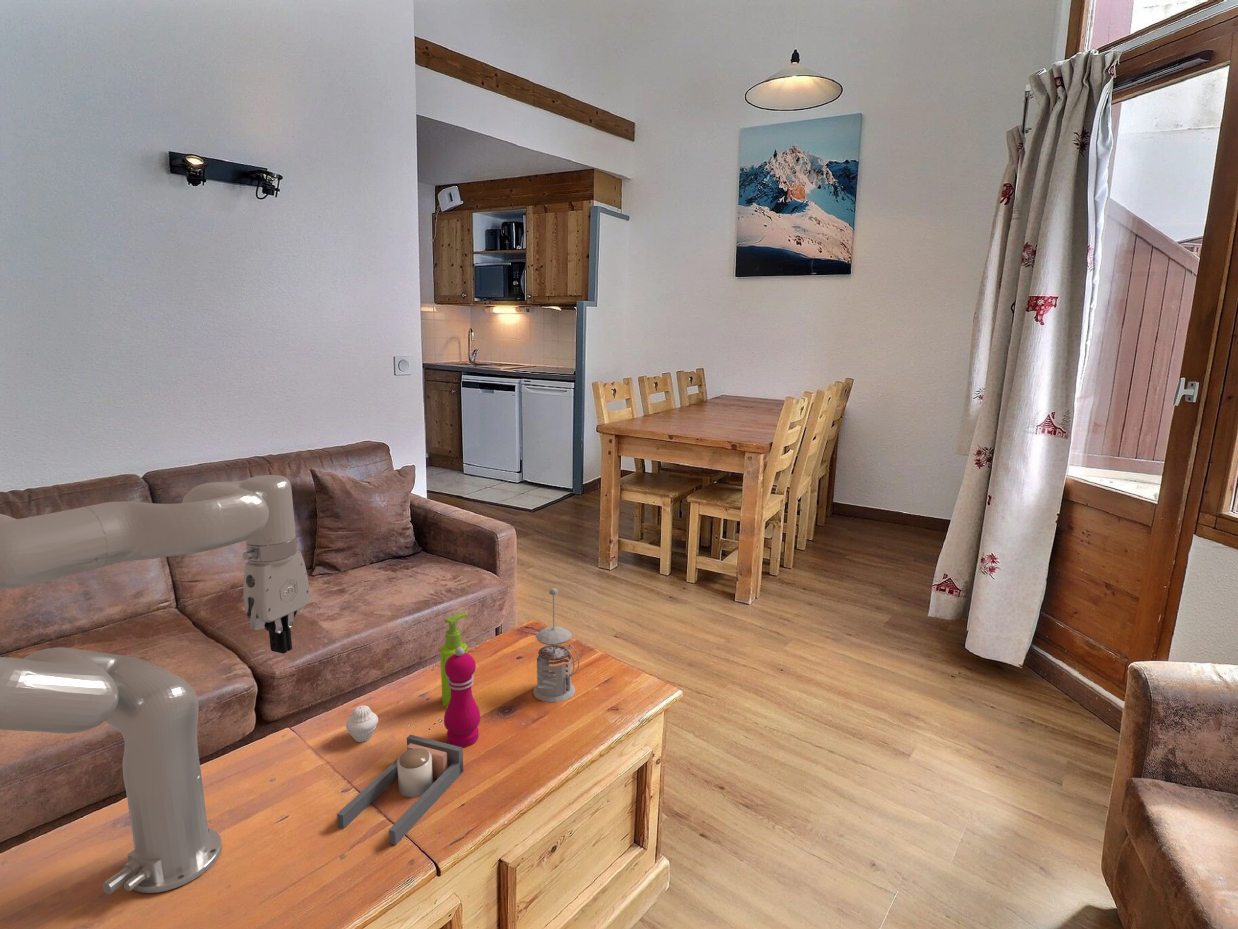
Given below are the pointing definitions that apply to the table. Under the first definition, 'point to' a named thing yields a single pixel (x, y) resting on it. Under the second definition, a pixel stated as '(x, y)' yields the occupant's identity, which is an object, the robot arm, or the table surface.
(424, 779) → the jar
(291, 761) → the table surface
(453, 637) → the soap dispenser
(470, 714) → the pepper mill
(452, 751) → the frame
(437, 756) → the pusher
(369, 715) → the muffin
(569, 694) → the french press
